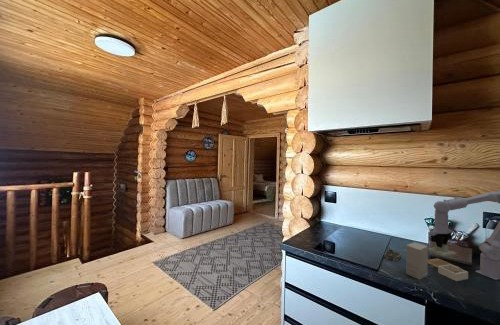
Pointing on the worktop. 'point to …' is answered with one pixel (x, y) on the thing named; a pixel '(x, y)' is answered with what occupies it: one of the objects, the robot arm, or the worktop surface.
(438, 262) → the cork mat
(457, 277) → the box
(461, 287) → the worktop surface
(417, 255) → the skincare box
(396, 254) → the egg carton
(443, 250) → the lid
